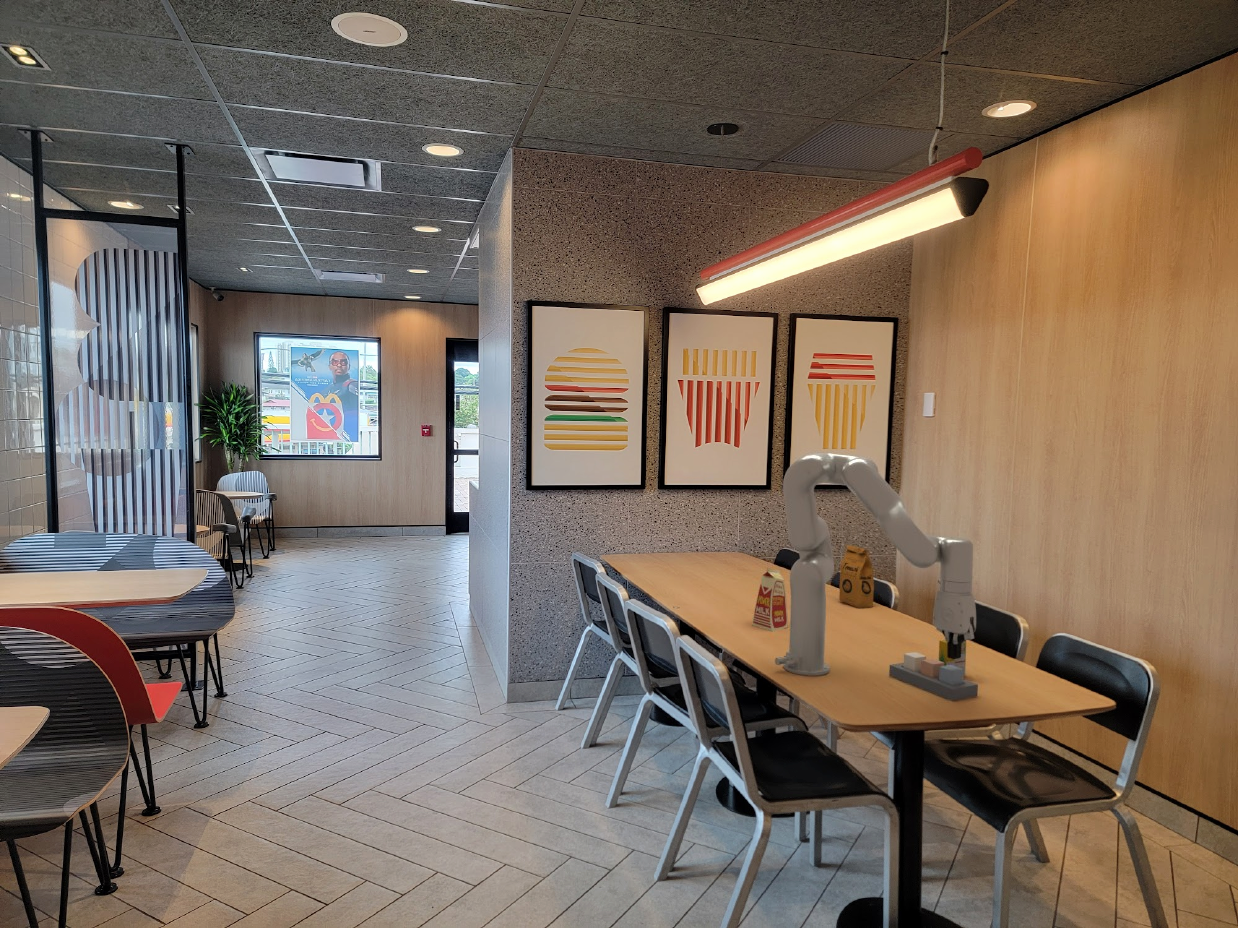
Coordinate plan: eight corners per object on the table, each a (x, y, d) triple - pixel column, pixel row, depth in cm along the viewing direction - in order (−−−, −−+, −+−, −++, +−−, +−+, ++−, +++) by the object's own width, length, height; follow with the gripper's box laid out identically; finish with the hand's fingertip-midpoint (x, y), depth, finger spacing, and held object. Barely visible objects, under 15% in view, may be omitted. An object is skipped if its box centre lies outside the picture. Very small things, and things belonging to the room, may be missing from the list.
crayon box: (957, 672, 220) (959, 631, 220) (965, 675, 218) (967, 633, 217) (937, 675, 217) (939, 633, 217) (945, 678, 215) (947, 636, 214)
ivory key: (914, 672, 211) (915, 657, 211) (903, 668, 215) (903, 653, 214) (925, 670, 213) (926, 656, 213) (914, 666, 216) (914, 651, 216)
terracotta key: (932, 679, 206) (933, 664, 206) (920, 674, 209) (921, 659, 209) (943, 677, 208) (944, 662, 207) (931, 672, 211) (932, 658, 211)
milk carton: (772, 631, 259) (774, 570, 258) (750, 625, 266) (752, 566, 265) (790, 627, 265) (792, 568, 263) (768, 621, 272) (770, 563, 271)
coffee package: (855, 609, 292) (857, 550, 290) (835, 601, 303) (837, 544, 302) (877, 607, 295) (880, 549, 294) (857, 600, 307) (859, 544, 305)
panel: (952, 700, 197) (953, 689, 197) (889, 675, 216) (889, 664, 216) (977, 695, 201) (977, 684, 201) (913, 671, 220) (913, 660, 220)
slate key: (951, 686, 200) (952, 671, 200) (939, 681, 204) (939, 666, 204) (962, 684, 202) (963, 669, 202) (950, 679, 206) (950, 664, 206)
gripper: (922, 582, 207) (920, 652, 207) (970, 593, 193) (968, 667, 194) (942, 580, 210) (940, 648, 211) (991, 591, 197) (989, 663, 197)
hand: (954, 657), depth 202 cm, fingers closed
